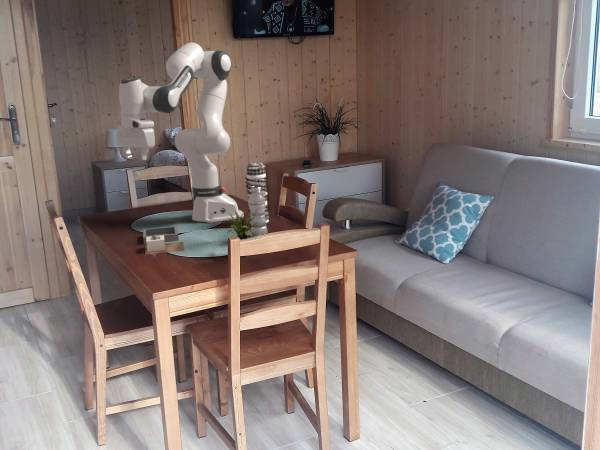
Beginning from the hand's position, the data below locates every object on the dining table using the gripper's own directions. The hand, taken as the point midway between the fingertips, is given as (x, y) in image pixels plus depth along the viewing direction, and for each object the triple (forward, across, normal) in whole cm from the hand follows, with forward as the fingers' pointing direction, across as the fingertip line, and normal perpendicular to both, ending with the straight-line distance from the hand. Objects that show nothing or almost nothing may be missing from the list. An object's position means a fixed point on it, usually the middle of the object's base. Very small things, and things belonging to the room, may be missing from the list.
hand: (136, 159), depth 254 cm
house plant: (+32, +44, +10) cm, 56 cm away
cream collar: (+31, +16, -6) cm, 36 cm away
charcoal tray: (+32, +5, +5) cm, 33 cm away
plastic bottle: (+32, +36, +28) cm, 55 cm away
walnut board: (+32, +18, -3) cm, 37 cm away
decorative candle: (+31, +18, +46) cm, 58 cm away
